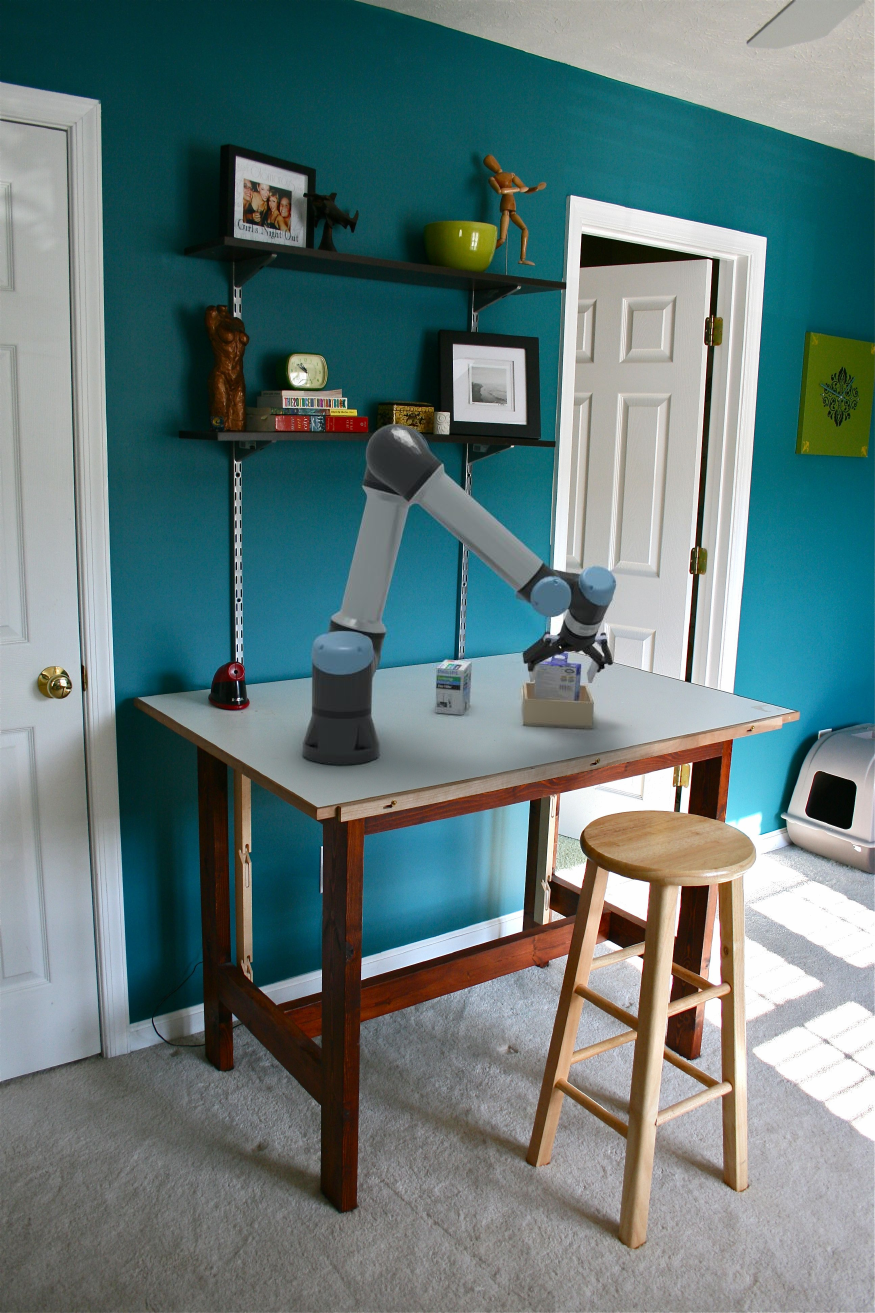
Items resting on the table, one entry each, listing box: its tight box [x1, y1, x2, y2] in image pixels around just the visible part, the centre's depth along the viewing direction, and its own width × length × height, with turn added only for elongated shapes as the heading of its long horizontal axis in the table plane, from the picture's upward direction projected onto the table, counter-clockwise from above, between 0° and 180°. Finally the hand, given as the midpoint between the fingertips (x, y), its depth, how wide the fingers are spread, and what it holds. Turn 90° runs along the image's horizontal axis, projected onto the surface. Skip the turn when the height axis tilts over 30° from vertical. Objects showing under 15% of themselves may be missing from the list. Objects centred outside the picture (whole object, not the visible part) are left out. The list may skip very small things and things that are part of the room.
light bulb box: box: [434, 659, 473, 716], centre depth 232 cm, size 11×7×11 cm, turn 168°
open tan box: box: [520, 681, 595, 730], centre depth 239 cm, size 15×39×6 cm, turn 176°
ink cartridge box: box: [533, 652, 582, 701], centre depth 227 cm, size 10×6×14 cm, turn 71°
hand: (560, 677), depth 226 cm, fingers open, 13 cm apart
